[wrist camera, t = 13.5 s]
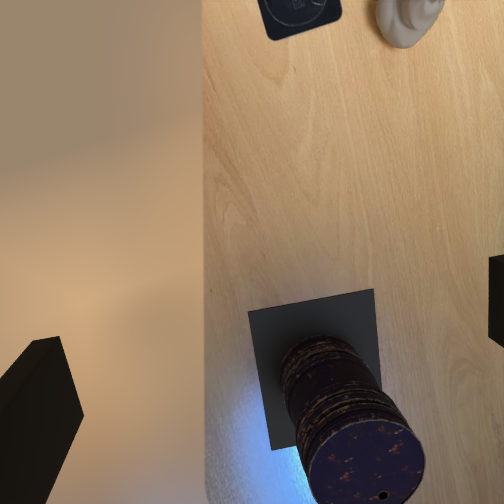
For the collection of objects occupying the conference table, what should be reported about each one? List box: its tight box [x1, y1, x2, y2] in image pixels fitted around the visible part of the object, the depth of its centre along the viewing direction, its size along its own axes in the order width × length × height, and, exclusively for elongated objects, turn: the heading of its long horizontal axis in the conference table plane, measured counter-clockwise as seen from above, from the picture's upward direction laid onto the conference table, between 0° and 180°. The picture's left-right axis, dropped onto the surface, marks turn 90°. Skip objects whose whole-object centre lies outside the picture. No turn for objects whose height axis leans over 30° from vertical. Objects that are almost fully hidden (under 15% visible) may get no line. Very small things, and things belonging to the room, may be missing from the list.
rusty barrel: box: [279, 335, 426, 504], centre depth 41 cm, size 10×10×15 cm
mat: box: [248, 289, 382, 451], centre depth 48 cm, size 18×14×1 cm
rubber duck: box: [376, 0, 445, 49], centre depth 35 cm, size 5×7×8 cm
